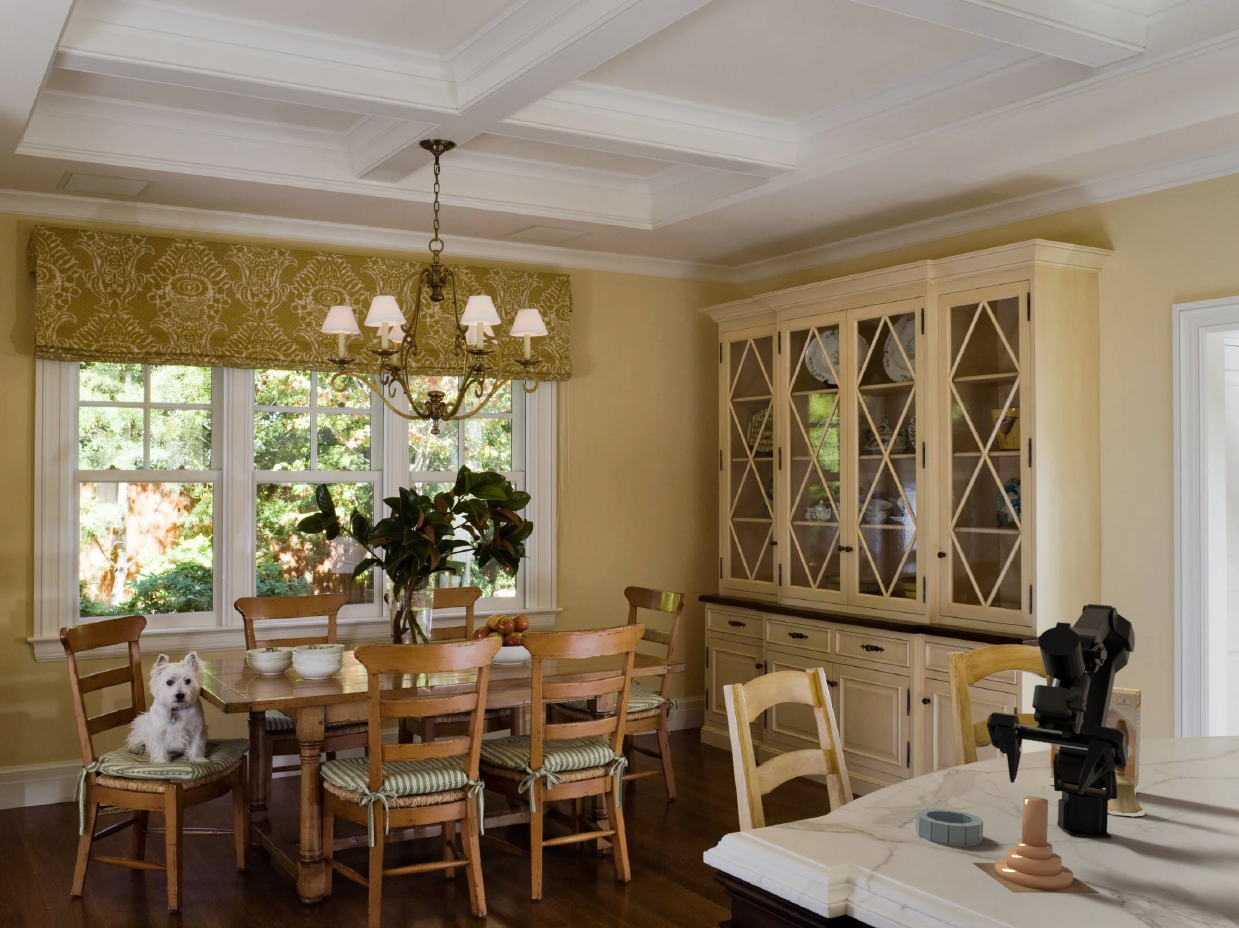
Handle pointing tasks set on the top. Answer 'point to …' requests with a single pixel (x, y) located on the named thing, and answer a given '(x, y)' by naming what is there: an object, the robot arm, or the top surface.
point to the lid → (1034, 853)
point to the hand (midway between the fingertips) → (1045, 786)
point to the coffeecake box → (1128, 709)
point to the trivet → (1075, 888)
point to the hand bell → (1124, 784)
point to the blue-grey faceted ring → (949, 827)
